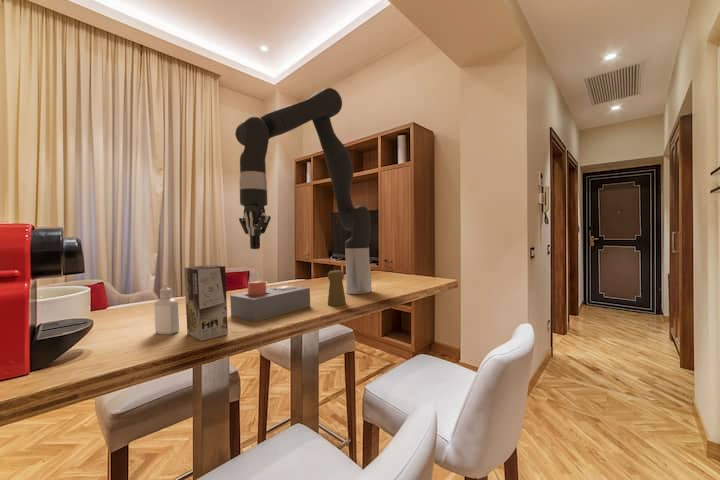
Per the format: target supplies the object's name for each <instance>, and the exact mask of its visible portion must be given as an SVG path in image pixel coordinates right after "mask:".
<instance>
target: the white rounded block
mask: <svg viewBox="0 0 720 480" xmlns="http://www.w3.org/2000/svg"><path fill="white" fill-rule="evenodd" d="M280 286H281V287H277V286H276V287H277V290H279V291H286V290H291V289H293V286H294V285H290V286H283V285H280Z"/></svg>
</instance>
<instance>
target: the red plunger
mask: <svg viewBox="0 0 720 480" xmlns="http://www.w3.org/2000/svg"><path fill="white" fill-rule="evenodd" d="M266 289H267V282H266V281H264V280H256V281H254V280H253V281H249V282H247V292H248V296H251V297H257V296H262V295H266Z"/></svg>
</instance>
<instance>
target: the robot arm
mask: <svg viewBox="0 0 720 480" xmlns="http://www.w3.org/2000/svg"><path fill="white" fill-rule="evenodd" d="M342 107H343V100H342V97H341V94H340V93H339V92H338V91H337V89H334V88H331V87H326V88H323V89H320V90H319V91H317V92H315V93H314V94H312V95H311V96H310V97H309V98H308V99H305V100H303V101H302V100H301V101H299V102H296V103H292V104H290V105H286V106H283V107H280V108H278V109H274V110H272V111H269V112H267V113H265V114H264V115H263V116H261V117H259V116H251V117H248V118H247V119H245V120H244V121H243V122H240V123H239V124H238V125H237V127H236V129H235V138H236V141H238V143H239V144H240V145H241V146H243V147H244V149H243V152H241V154H240V157H239V172H240V173H239V204H240V206H243V207H244V209H243V215H242V217H239V218H238V221H239V223H240V225H241V228H242V230H243V231H244V234H245V235H248V236H249V246H250V247H249V248H250V249H251V250H259V249H260V248H261V236H262V234H265V233H266V230H267V228H268V226H269V223H270V221H271V217H272V216H270V215H267V214H266V209H265V207H266V206H268V181H267V176H266V175H267V173H266V172H267V171H266V170H267V168H266V167H267V166H266V157H267V153H268V146H269V142H270V141H269V140H270V139H271V138H274V137H277V136H278V137H279V136H281V135H283V134H286V133H288V132H291V131H293V130H296V129H297V128H298V127H300V126H303V125H305V124H307V123H309V122H310V121H312V123H313V126H314V129H315V132H316V134H317V137H318V139H319V143H320V146H321V149H322V152H323V156H324V159H325V165H326V168H327V171H328V174H329V177H330V181H331V185H332V189H333V192H334V196H335V200H336V201H335V202H336V206H337V207H336V208H337V213H338V219H339V222H340V224H341V226H342V227H343V229H344V230H346V231H349V232H351V231H352V236H351V237H350V238H348V239H347V240H346V241H344V250H345V256H344V257H345V278H346V279H345V282H346V283H345V285H346V287H345V288H346V293H347V294H350V295H366V294H369V293H371V292H372V291H373V290H372V289H373V288H372V266H370V265H371V264H370V242H371V235H372V234H371V231H372V229H371V226H372V218H371V214H370V213H371V212H370V210H369V208H368V207H366V206H364V205H356V206H355V205H353V201H352V197H351V189H352V183H353V179H354V167H353V162H352V159H351V158H352V157H351V155H350V152H349V150H348V149H347V147H346V146H345V145H344V143H343V142H342V141H341V140H340V139H339V137H338V136H337V135H336V133H335V131H334V128H333V125H332V122H331V118H332V117H335V116H337V115H338V114H339V113H340V112H341V110H342Z"/></svg>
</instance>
